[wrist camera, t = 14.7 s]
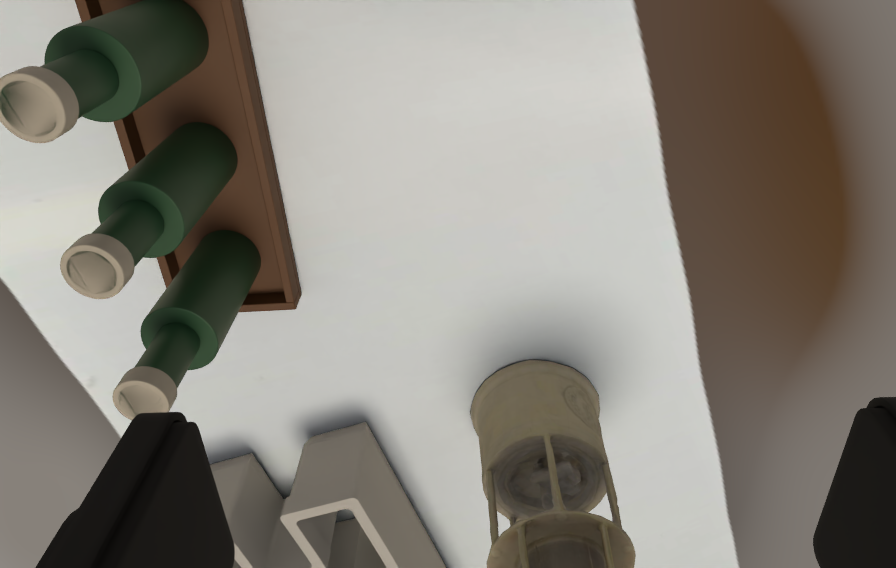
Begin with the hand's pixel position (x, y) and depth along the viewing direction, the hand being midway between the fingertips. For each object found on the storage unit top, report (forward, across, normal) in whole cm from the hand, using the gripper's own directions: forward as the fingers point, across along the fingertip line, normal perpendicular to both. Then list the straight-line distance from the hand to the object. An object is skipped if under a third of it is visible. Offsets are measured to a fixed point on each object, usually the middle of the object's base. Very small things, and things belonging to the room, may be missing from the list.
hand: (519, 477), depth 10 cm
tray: (+35, +18, +7) cm, 40 cm away
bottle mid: (+34, +18, +7) cm, 39 cm away
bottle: (+35, +18, 0) cm, 39 cm away
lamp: (+35, -4, +31) cm, 47 cm away
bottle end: (+34, +18, +15) cm, 41 cm away
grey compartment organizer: (+35, +13, +46) cm, 59 cm away
